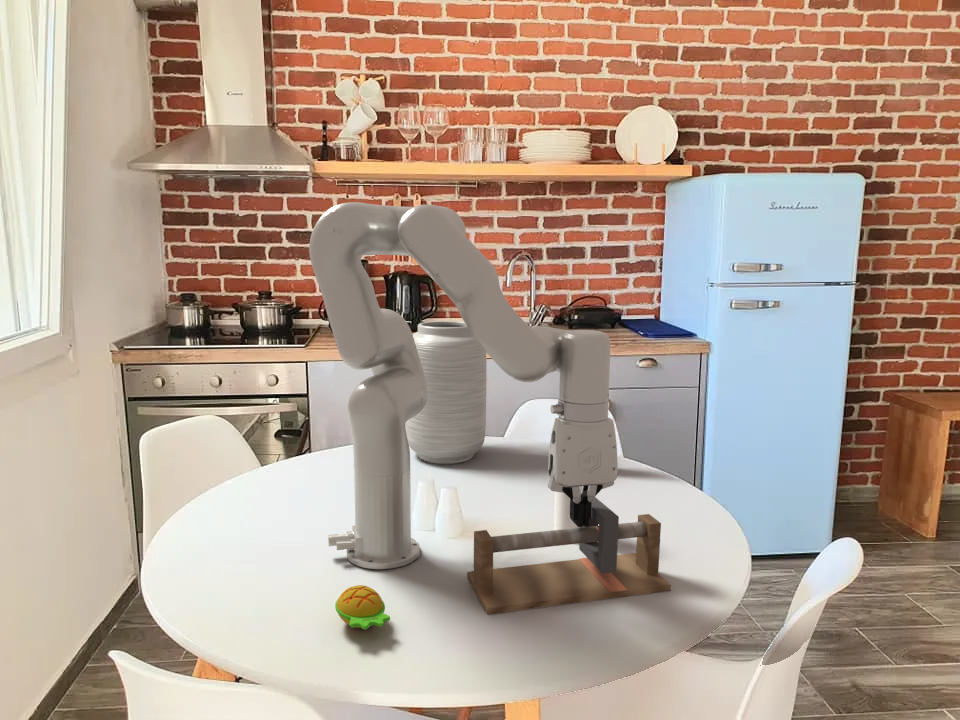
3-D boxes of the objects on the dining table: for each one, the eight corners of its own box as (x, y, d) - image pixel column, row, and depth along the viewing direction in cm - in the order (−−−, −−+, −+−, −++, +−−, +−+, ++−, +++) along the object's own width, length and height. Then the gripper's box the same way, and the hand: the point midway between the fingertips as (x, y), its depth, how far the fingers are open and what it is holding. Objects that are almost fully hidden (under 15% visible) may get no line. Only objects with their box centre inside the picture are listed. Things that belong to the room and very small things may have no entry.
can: (587, 543, 131) (589, 480, 129) (551, 540, 132) (553, 477, 130) (589, 529, 137) (591, 469, 135) (555, 526, 138) (557, 466, 136)
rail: (487, 614, 106) (487, 552, 104) (467, 577, 117) (467, 521, 115) (670, 590, 113) (673, 532, 112) (635, 558, 125) (637, 505, 123)
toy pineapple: (374, 605, 108) (374, 572, 107) (398, 638, 99) (397, 602, 98) (329, 616, 105) (328, 581, 104) (349, 651, 96) (348, 614, 95)
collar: (602, 573, 111) (604, 518, 110) (579, 549, 120) (581, 497, 118) (616, 571, 112) (618, 516, 110) (592, 547, 120) (594, 496, 119)
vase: (452, 440, 197) (453, 317, 191) (501, 457, 181) (504, 325, 176) (390, 453, 184) (388, 322, 178) (437, 473, 169) (437, 331, 163)
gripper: (546, 419, 105) (543, 537, 108) (639, 413, 109) (634, 528, 112) (529, 407, 113) (527, 519, 116) (617, 402, 116) (613, 511, 119)
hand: (580, 523), depth 114 cm, fingers closed
